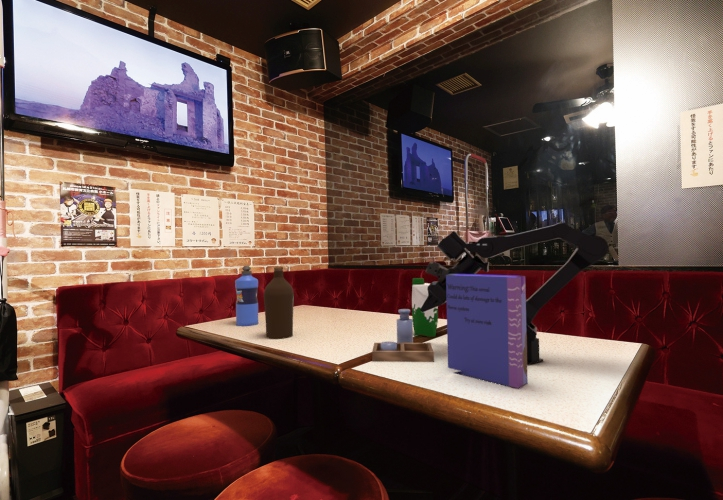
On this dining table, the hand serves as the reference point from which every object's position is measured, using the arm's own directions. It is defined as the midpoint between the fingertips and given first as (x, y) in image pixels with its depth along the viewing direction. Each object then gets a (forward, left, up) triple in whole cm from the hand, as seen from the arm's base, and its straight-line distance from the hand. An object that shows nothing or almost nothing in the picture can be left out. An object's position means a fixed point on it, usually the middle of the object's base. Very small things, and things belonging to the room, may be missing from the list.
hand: (425, 308), depth 112 cm
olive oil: (+45, +31, -13) cm, 56 cm away
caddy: (-4, +11, -13) cm, 17 cm away
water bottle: (+76, +36, -13) cm, 85 cm away
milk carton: (+18, -14, -13) cm, 26 cm away
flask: (+5, +4, -13) cm, 14 cm away
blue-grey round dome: (-2, +14, -12) cm, 18 cm away
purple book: (-26, +3, -13) cm, 29 cm away
